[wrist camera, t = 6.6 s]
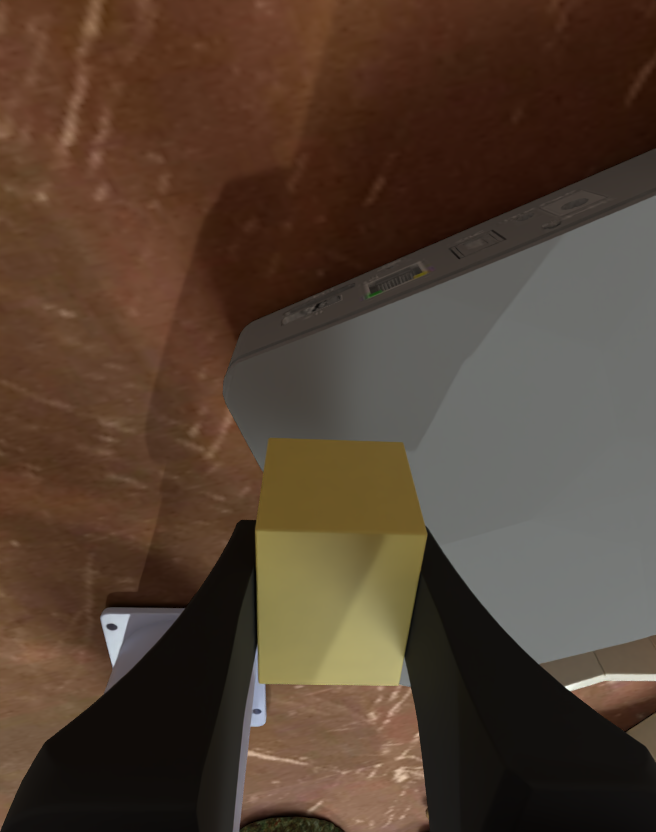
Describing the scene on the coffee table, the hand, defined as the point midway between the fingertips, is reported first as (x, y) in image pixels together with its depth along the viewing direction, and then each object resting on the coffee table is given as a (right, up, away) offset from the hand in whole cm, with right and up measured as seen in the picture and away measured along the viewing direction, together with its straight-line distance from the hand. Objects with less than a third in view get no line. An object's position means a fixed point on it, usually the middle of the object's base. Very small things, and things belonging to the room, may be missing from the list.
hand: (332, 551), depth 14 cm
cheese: (0, +1, +1) cm, 1 cm away
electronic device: (+9, +4, +8) cm, 13 cm away
